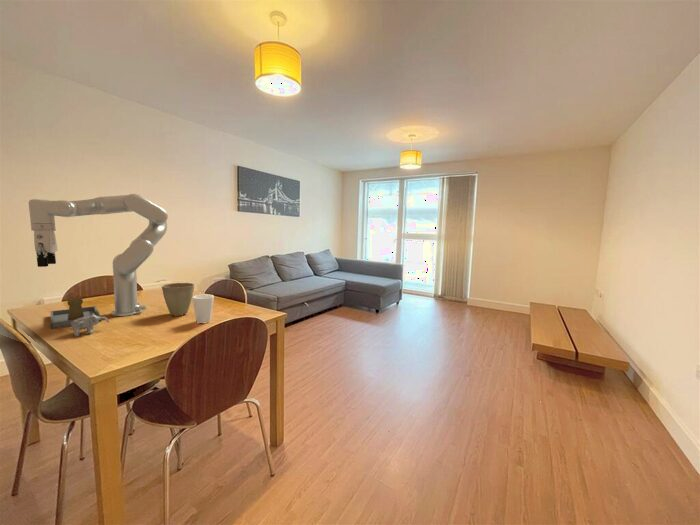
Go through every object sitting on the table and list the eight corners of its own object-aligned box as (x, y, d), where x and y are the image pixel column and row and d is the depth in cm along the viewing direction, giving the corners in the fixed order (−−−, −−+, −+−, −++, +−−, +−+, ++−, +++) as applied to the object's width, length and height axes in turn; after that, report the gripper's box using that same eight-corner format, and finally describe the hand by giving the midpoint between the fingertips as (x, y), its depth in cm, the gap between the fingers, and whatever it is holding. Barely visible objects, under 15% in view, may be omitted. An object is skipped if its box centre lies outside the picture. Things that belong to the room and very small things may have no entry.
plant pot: (199, 310, 162) (199, 283, 160) (185, 318, 147) (185, 288, 146) (172, 309, 162) (172, 282, 160) (155, 317, 147) (155, 287, 145)
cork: (74, 319, 138) (73, 296, 137) (88, 319, 139) (87, 297, 138) (63, 322, 132) (62, 299, 131) (77, 323, 133) (76, 300, 132)
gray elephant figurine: (67, 334, 121) (64, 317, 120) (101, 325, 132) (99, 309, 130) (78, 339, 117) (76, 321, 116) (112, 329, 128) (110, 313, 127)
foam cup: (217, 320, 147) (217, 296, 145) (201, 325, 138) (201, 299, 137) (205, 317, 150) (204, 293, 149) (188, 322, 142) (188, 296, 141)
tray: (100, 321, 137) (100, 316, 137) (50, 328, 126) (50, 323, 125) (95, 310, 154) (95, 306, 153) (51, 316, 142) (50, 311, 141)
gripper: (48, 228, 123) (51, 267, 126) (61, 227, 138) (64, 262, 140) (22, 227, 120) (27, 268, 122) (39, 227, 134) (42, 263, 136)
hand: (47, 265), depth 131 cm, fingers open, 9 cm apart
